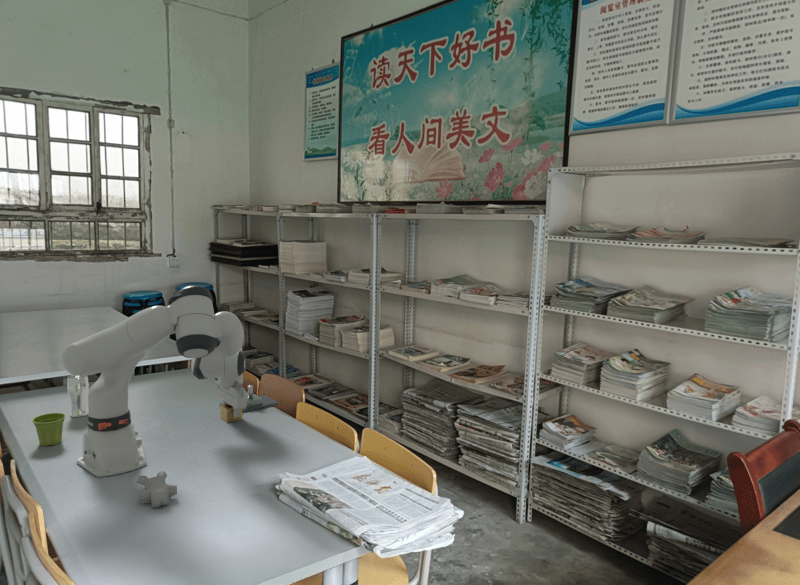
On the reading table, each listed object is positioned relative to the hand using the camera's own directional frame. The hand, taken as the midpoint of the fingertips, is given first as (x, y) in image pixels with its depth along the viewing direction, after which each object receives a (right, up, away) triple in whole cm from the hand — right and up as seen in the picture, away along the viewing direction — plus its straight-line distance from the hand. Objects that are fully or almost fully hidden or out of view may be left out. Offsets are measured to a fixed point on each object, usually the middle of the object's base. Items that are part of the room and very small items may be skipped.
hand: (231, 414), depth 211 cm
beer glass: (-58, 0, 0) cm, 58 cm away
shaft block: (+3, 0, +15) cm, 15 cm away
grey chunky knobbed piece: (-2, -10, -60) cm, 61 cm away
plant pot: (-52, -4, -26) cm, 59 cm away
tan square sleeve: (0, -2, 0) cm, 2 cm away
